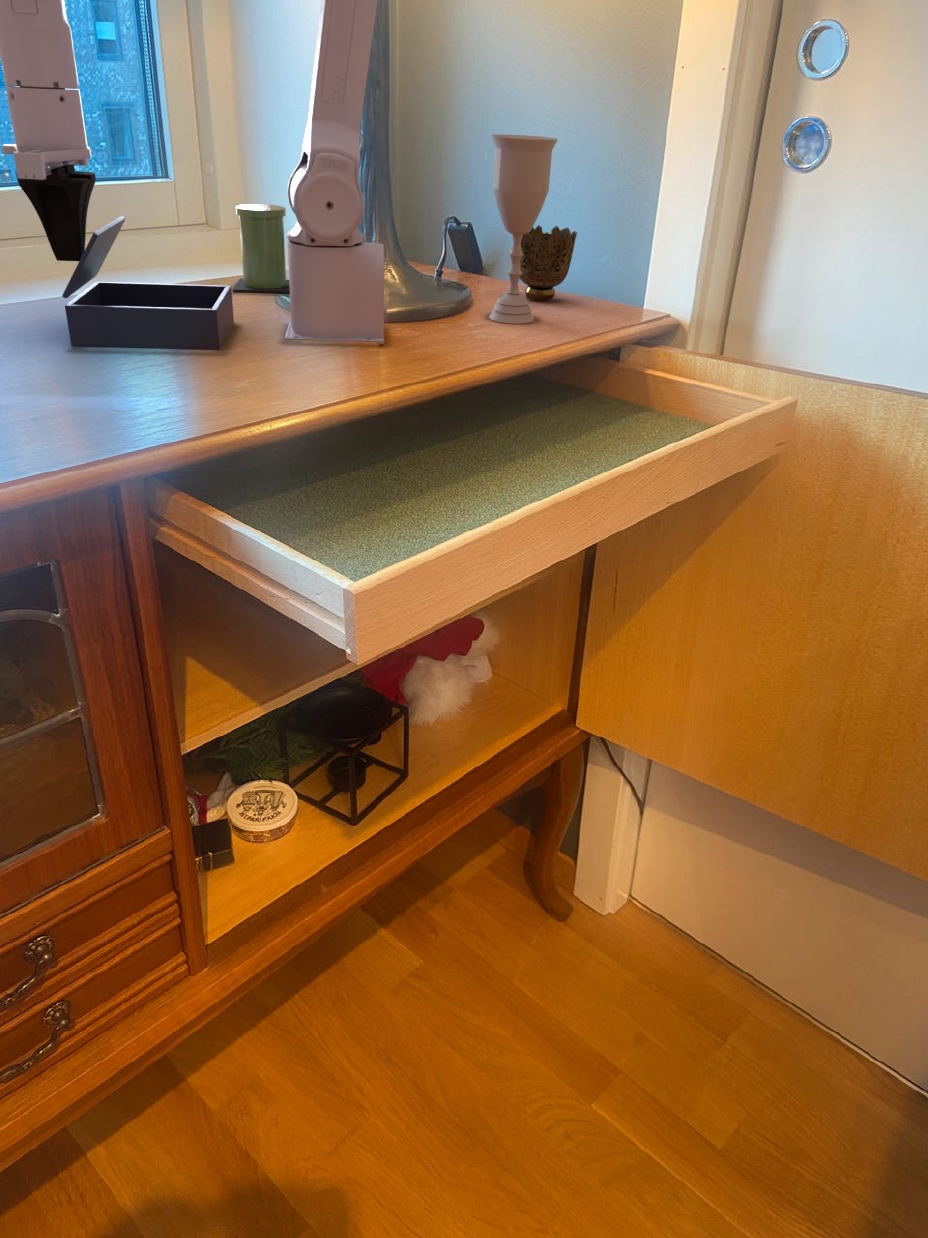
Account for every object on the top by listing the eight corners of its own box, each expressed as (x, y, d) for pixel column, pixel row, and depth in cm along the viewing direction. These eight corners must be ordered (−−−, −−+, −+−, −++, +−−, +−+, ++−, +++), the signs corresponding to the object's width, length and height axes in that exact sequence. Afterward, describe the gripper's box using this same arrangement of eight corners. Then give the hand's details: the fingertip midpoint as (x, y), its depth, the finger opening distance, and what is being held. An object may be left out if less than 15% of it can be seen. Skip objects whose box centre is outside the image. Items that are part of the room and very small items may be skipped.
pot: (290, 280, 113) (287, 205, 109) (287, 289, 108) (283, 211, 104) (243, 279, 112) (238, 203, 108) (238, 288, 108) (232, 209, 103)
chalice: (543, 327, 100) (560, 140, 91) (481, 324, 100) (491, 137, 91) (539, 312, 106) (555, 136, 97) (481, 309, 106) (490, 133, 97)
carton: (72, 351, 83) (64, 305, 81) (101, 323, 92) (95, 281, 90) (220, 355, 84) (216, 309, 82) (234, 326, 94) (231, 285, 92)
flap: (66, 298, 81) (61, 296, 80) (96, 275, 90) (92, 273, 90) (98, 235, 78) (93, 232, 78) (126, 217, 88) (122, 215, 88)
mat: (297, 284, 114) (297, 279, 114) (294, 295, 108) (293, 291, 108) (239, 282, 113) (239, 277, 113) (233, 293, 107) (232, 289, 107)
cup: (505, 302, 110) (510, 230, 106) (512, 290, 117) (517, 222, 113) (567, 307, 110) (575, 235, 106) (571, 295, 116) (578, 227, 112)
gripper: (20, 84, 83) (47, 245, 90) (-40, 86, 71) (-3, 272, 77) (101, 88, 84) (122, 247, 91) (56, 90, 71) (84, 275, 78)
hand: (70, 259), depth 84 cm, fingers closed
